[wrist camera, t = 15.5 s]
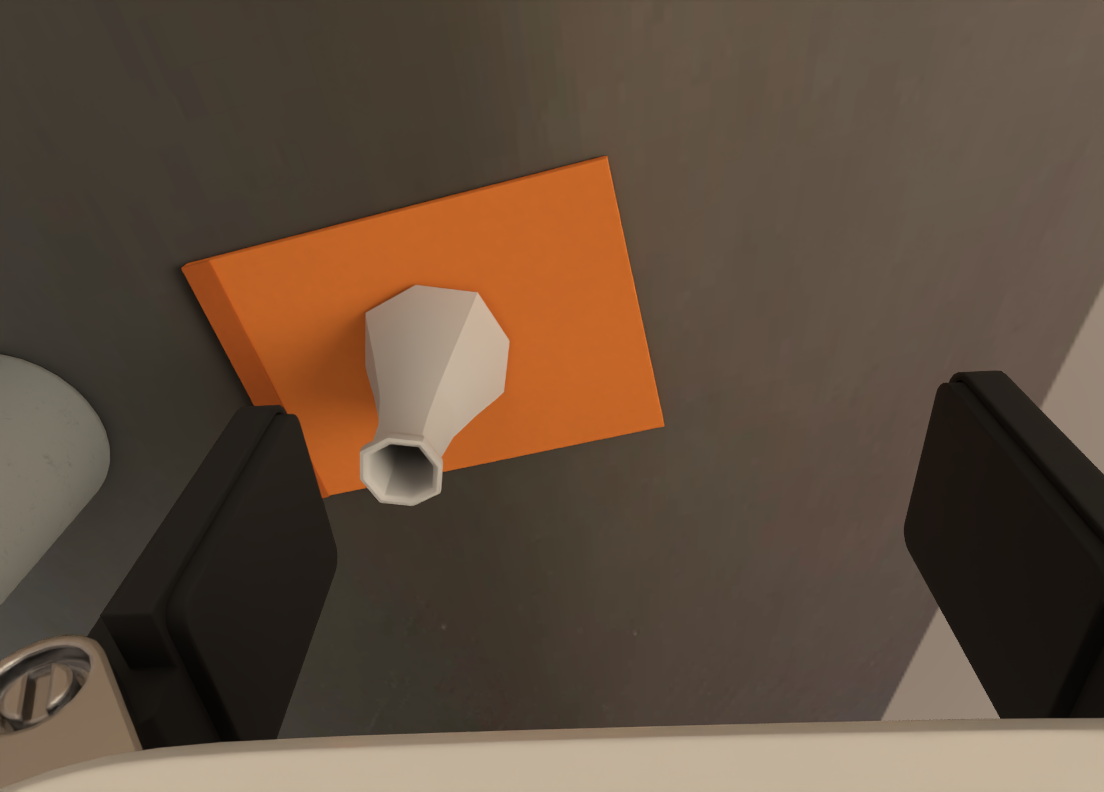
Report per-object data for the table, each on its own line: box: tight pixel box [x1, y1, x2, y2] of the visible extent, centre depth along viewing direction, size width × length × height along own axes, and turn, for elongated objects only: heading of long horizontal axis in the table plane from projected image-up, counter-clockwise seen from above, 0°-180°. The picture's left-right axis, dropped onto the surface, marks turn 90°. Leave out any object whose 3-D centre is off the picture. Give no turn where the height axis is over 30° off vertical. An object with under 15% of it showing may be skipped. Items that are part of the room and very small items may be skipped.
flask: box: [360, 285, 510, 506], centre depth 32 cm, size 7×7×10 cm
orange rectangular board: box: [181, 156, 664, 498], centre depth 37 cm, size 14×20×1 cm
